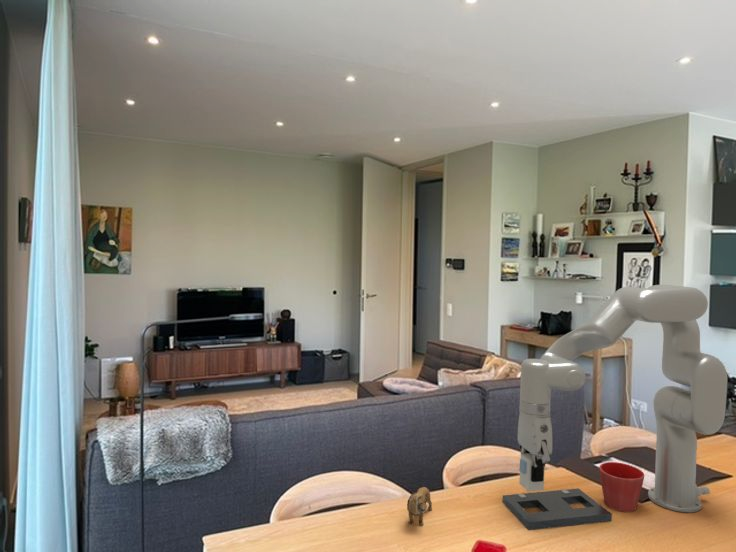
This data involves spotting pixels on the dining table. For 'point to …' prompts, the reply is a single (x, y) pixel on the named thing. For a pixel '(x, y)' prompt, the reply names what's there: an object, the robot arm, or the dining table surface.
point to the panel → (556, 509)
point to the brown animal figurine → (418, 505)
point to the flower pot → (621, 485)
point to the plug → (528, 473)
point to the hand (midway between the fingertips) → (531, 476)
